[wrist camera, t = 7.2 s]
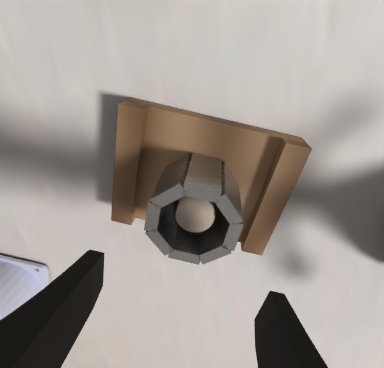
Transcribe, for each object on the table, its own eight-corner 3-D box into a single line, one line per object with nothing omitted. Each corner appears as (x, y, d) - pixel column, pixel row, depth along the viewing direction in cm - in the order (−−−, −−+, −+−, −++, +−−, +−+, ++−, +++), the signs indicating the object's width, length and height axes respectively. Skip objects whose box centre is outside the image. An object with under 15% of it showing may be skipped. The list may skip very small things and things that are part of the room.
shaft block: (121, 204, 21) (91, 250, 16) (129, 97, 17) (93, 115, 12) (258, 236, 21) (268, 291, 16) (301, 137, 17) (333, 172, 12)
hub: (157, 210, 20) (141, 251, 16) (168, 146, 17) (151, 175, 13) (225, 226, 20) (226, 270, 16) (246, 164, 17) (253, 199, 13)
